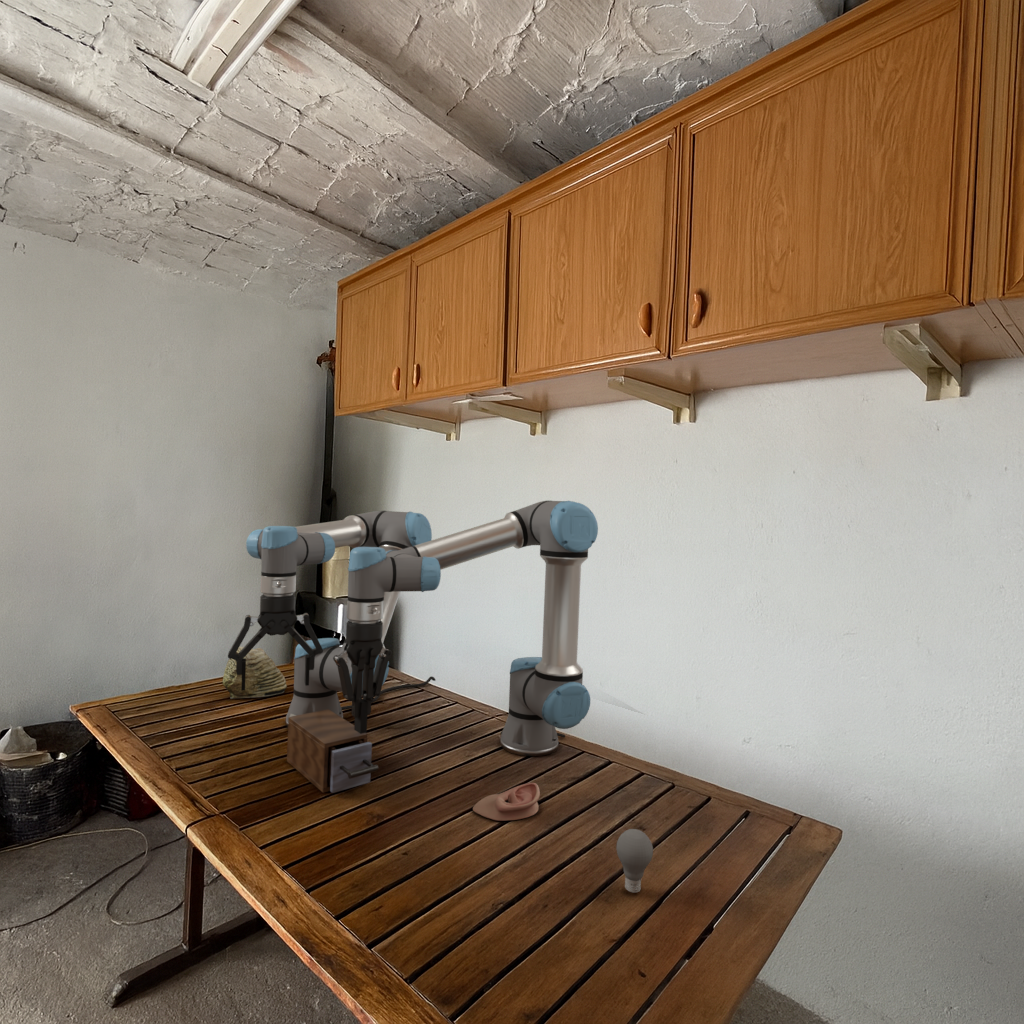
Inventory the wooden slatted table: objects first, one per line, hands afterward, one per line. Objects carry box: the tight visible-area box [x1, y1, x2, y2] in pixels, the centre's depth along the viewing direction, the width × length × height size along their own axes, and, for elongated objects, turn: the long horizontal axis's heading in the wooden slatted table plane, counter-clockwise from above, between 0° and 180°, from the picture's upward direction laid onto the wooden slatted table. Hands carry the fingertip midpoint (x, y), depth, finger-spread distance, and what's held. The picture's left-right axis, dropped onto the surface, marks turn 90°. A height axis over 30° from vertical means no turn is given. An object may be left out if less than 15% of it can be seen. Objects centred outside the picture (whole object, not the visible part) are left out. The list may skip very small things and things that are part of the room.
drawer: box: [327, 740, 379, 794], centre depth 141 cm, size 24×9×9 cm, turn 41°
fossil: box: [222, 646, 288, 699], centre depth 198 cm, size 9×18×15 cm, turn 132°
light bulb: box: [615, 828, 654, 894], centre depth 106 cm, size 6×6×10 cm
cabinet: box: [286, 709, 368, 793], centre depth 146 cm, size 20×10×11 cm, turn 41°
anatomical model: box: [472, 782, 541, 822], centre depth 132 cm, size 13×4×12 cm
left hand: (275, 686), depth 145 cm, fingers open, 13 cm apart
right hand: (360, 730), depth 134 cm, fingers closed
